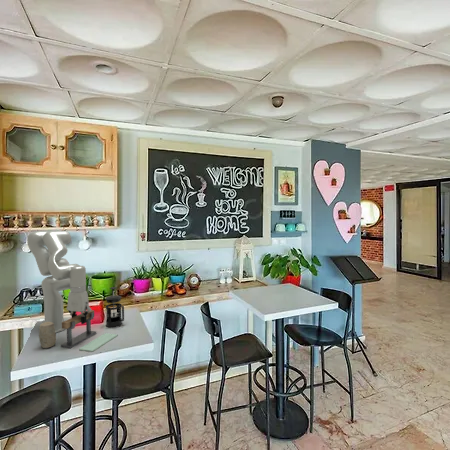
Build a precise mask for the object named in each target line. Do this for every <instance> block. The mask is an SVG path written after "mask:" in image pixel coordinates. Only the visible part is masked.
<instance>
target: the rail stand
mask: <svg viewBox="0 0 450 450" xmlns="http://www.w3.org/2000/svg"><path fill="white" fill-rule="evenodd" d="M94 318H95V312H94V313H93V312H92V313H90V318H88V319H86V320H87V322H86V323H85V325H86V326H85V327H86V329H85V331H84V332H82V333H81V334H78V335H77V336H74V337H73V333H72V330H73V329H76V328H75V327H76V325H75V321H73V322H71V327H70V328H68V329H66V341H65V342H64V343H61V344H60V348H64V349H72V348H74V347H76V346H78V345H79V344H81V343H83V342H84V341H86V340H88V339H90V338H91V337H94V336H95V335H96V334H97V331H96V330H95V331H94V330H92V326H91V325H92V321H91V320H93V319H94ZM66 320H67V319H66ZM66 320H63V322H64V321H66Z"/></svg>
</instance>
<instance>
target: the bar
mask: <svg viewBox="0 0 450 450" xmlns="http://www.w3.org/2000/svg"><path fill="white" fill-rule="evenodd" d="M92 312H93V313H94V314H95V310H93V309H91V311H90V312H89V313H88V315H86V319H88V318H90V313H92ZM81 317H82V314H81V313H80V314H77V316H75V317H73V318H72V317H70V318H69V319H66V321H65V320H63V321H64V322H62V328H63V329H65V330H67V329H68V328H70V327H71V322H73V321H75V326H76V325H78V324H81Z"/></svg>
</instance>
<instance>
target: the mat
mask: <svg viewBox="0 0 450 450" xmlns="http://www.w3.org/2000/svg"><path fill="white" fill-rule="evenodd" d="M118 336H119V335H118V334H116V333H108V332H107V333H106V332H105V333H103V334H102V335H100V336H98V337H97V338H95V339H93V340H91V341H90V342H88V343H86V344H85V345H83V346H81V347H80V348H78V350H79V351H84V352H91V353H94V352H95V351H96V350H98V349H100V348H102V347H103V346H104V345H106V344H108V343H109V342H110V341H112V340H113V339H115V338H116V337H118Z"/></svg>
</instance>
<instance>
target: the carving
mask: <svg viewBox="0 0 450 450" xmlns="http://www.w3.org/2000/svg"><path fill="white" fill-rule="evenodd" d="M38 330H39V331H38V339H39V343H40V347H41V348H42V349H47V348H51V347H53V346H54V345H56V343H57V334H56V333H55V327H54V323H53V322H45V323H43V324H41V323H40V325H39V329H38Z"/></svg>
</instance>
